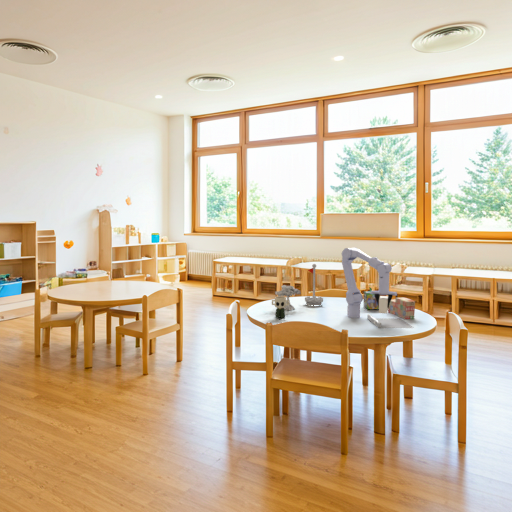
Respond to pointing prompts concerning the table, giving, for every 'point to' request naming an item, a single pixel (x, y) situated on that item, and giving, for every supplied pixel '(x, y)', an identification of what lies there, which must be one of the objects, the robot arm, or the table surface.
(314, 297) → the flag stand
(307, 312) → the table surface
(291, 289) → the tree
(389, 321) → the shelf deck
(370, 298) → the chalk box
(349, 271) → the robot arm
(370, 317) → the price rail
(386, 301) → the cream carton
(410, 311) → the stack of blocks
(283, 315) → the character mug
